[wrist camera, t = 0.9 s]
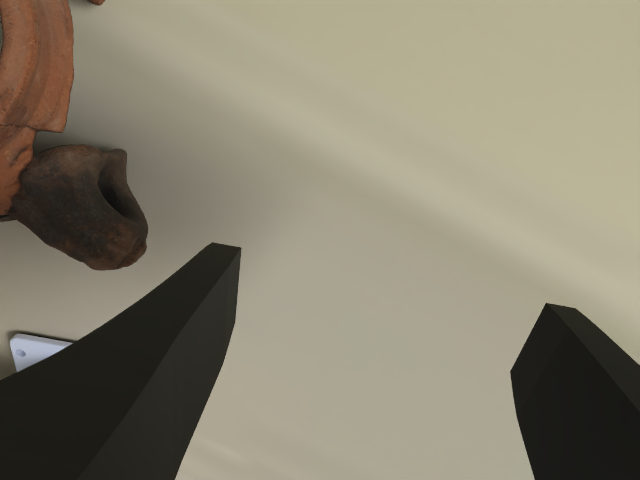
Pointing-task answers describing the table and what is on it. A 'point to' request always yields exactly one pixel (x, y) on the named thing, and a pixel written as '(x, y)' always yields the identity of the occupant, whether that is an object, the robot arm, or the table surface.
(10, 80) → the pottery mug
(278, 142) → the table surface
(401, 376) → the table surface
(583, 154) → the table surface
